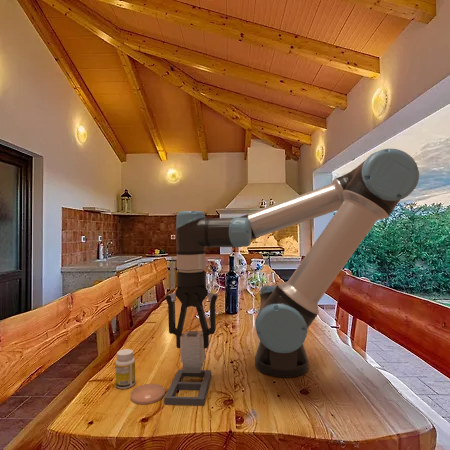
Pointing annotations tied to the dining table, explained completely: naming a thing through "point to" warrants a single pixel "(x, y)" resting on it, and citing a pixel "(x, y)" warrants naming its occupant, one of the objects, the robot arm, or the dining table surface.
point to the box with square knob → (191, 352)
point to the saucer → (147, 394)
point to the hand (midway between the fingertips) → (193, 360)
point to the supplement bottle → (125, 369)
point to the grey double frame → (178, 385)
